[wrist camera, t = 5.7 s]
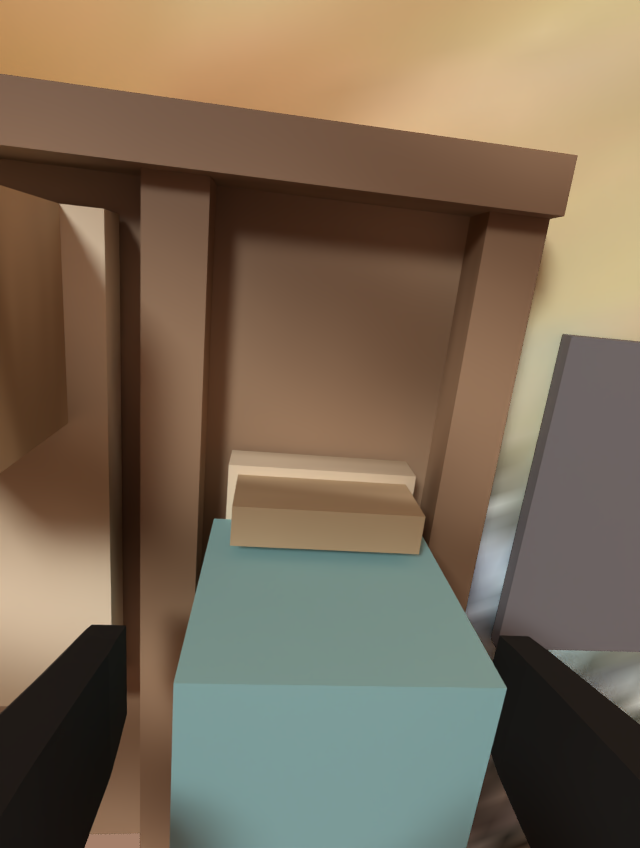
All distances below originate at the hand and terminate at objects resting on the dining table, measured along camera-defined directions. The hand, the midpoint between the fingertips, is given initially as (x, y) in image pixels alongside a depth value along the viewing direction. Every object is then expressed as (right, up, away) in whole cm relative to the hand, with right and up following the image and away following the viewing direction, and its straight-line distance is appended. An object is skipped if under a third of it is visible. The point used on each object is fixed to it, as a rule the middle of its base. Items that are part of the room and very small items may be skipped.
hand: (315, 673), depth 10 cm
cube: (0, 0, +2) cm, 2 cm away
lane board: (-3, +2, +3) cm, 5 cm away
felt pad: (+10, +2, +4) cm, 11 cm away
